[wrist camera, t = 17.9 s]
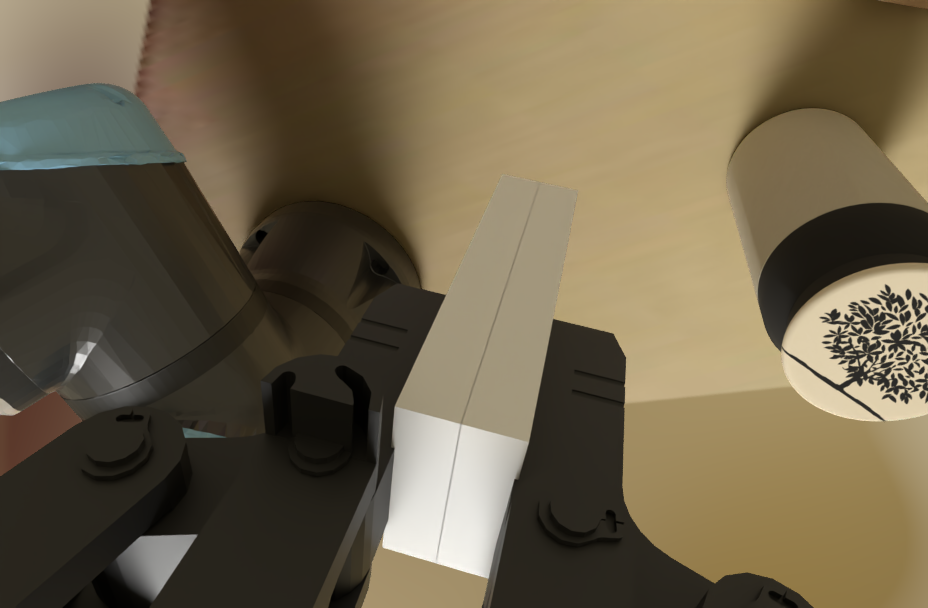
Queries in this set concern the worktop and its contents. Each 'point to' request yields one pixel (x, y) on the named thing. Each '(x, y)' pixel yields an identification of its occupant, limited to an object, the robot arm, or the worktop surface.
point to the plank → (910, 3)
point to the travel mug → (836, 262)
